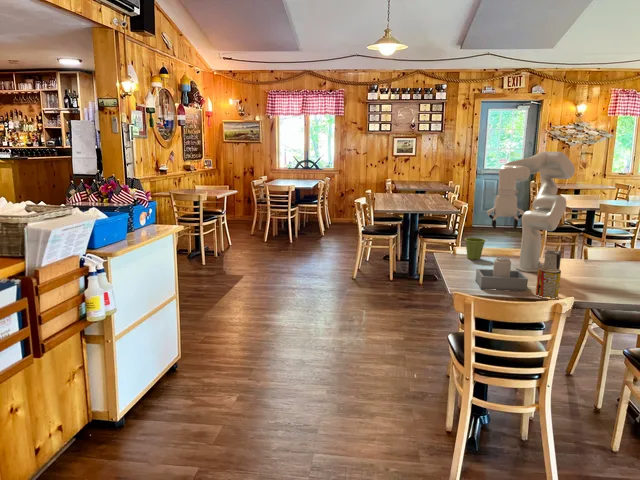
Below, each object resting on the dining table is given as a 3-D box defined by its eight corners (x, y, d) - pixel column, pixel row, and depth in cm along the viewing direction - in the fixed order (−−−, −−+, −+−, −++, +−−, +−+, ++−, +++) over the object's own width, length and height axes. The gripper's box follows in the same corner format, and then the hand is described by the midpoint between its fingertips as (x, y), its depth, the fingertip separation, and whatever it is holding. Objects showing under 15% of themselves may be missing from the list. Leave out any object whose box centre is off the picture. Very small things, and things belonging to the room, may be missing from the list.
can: (500, 285, 215) (503, 260, 212) (488, 281, 221) (490, 256, 219) (512, 283, 218) (515, 258, 216) (500, 279, 225) (502, 255, 222)
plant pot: (485, 257, 276) (486, 238, 273) (483, 261, 265) (484, 242, 263) (464, 255, 280) (465, 236, 278) (461, 259, 270) (463, 240, 267)
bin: (518, 282, 225) (519, 270, 224) (526, 291, 212) (527, 279, 211) (475, 280, 228) (476, 268, 227) (480, 289, 215) (481, 276, 213)
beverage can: (530, 293, 209) (533, 267, 207) (548, 292, 211) (551, 266, 209) (544, 300, 201) (547, 273, 198) (562, 298, 203) (565, 272, 200)
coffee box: (556, 288, 217) (560, 254, 214) (541, 286, 220) (544, 252, 217) (558, 283, 225) (562, 251, 221) (543, 281, 228) (547, 249, 225)
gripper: (523, 191, 227) (520, 226, 231) (486, 192, 229) (484, 226, 233) (528, 193, 220) (525, 229, 224) (489, 194, 222) (487, 229, 226)
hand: (504, 227), depth 228 cm, fingers open, 9 cm apart
